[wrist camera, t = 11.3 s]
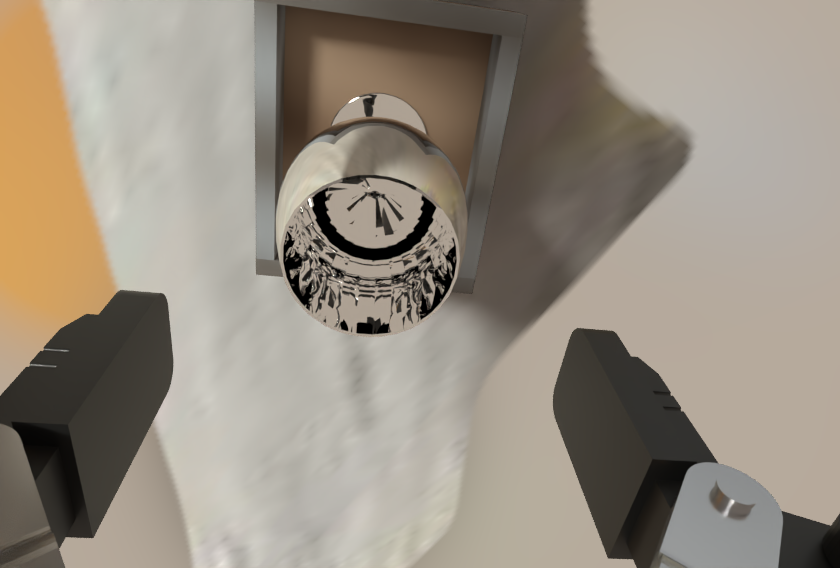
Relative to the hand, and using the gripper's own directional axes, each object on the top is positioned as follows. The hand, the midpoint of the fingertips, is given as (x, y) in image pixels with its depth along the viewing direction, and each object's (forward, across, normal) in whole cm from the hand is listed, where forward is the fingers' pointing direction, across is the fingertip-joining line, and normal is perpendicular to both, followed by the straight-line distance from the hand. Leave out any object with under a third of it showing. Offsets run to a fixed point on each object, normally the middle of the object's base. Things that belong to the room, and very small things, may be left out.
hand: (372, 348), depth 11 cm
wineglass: (+16, 0, 0) cm, 16 cm away
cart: (+19, 0, 0) cm, 19 cm away
